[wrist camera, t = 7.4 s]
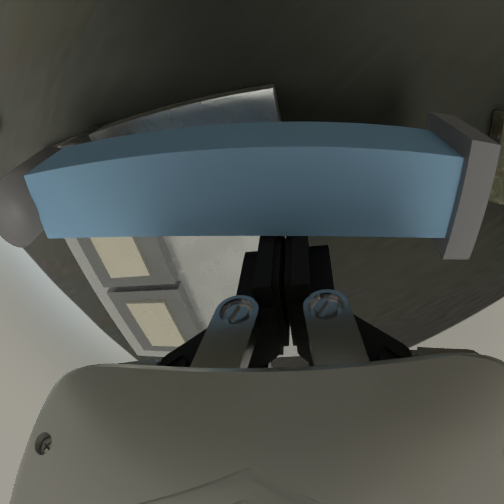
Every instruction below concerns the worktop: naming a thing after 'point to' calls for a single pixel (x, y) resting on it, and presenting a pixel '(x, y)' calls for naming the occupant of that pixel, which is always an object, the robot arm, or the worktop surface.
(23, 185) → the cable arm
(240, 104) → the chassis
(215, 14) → the worktop surface
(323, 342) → the robot arm
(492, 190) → the mechanical leg
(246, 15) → the worktop surface
